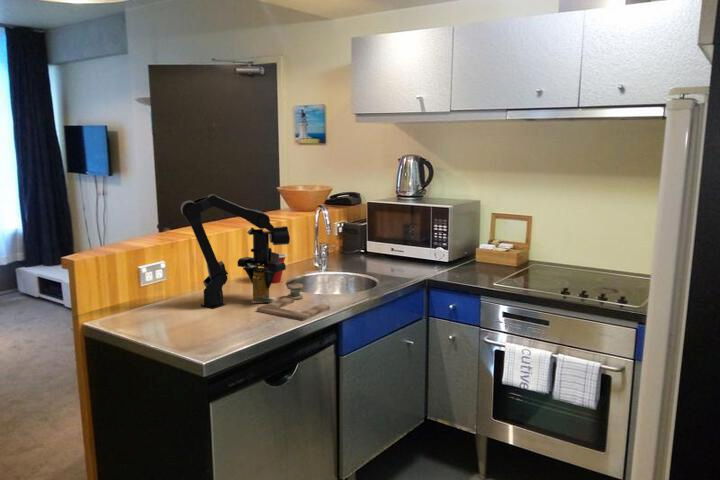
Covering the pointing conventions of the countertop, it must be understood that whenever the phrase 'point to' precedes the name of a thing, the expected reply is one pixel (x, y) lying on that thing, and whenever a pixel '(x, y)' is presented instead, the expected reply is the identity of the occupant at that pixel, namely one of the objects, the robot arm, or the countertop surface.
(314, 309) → the brown frame
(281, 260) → the plastic cup
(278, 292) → the countertop surface
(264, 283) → the condiment
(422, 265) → the countertop surface
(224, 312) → the countertop surface
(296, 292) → the spool
